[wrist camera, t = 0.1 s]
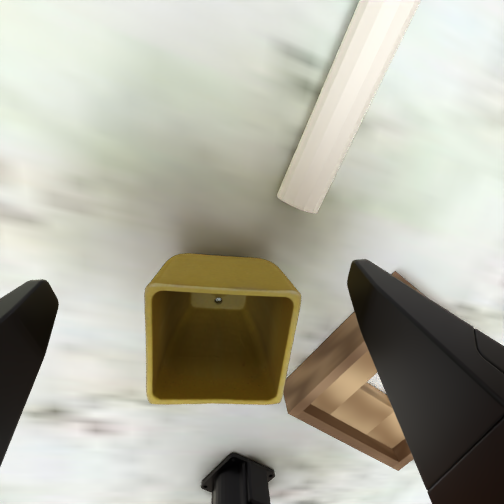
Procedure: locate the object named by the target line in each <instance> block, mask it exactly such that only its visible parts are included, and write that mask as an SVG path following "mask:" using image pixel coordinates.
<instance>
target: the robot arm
mask: <svg viewBox="0 0 504 504" xmlns="http://www.w3.org/2000/svg"><path fill="white" fill-rule="evenodd" d="M347 286H348V290H349V293H350V297H351V300H352V304H353V307H354V311H355V314H356V318H357V321H358V325H359V328H360V331H361V334H362V336H363V339H364V341H365V343H366V346H367V348H368V351H369V353H370V355H371V358H372V360H373V363H374V365H375V367H376V370H377V372H378V375H379V377H380V379H381V382H382V384H383V387H384V389H385V391H386V394H387V396H388V398H389V401H390V403H391V406H392V408H393V410H394V413H395V415H396V418H397V420H398V422H399V425H400V427H401V430H402V432H403V434H404V437H405V439H406V442H407V444H408V446H409V449H410V451H411V454H412V456H413V458H414V461H415V463H416V466H417V468H418V470H419V473H420V475H421V478H422V480H423V482H424V485H425V487H426V489H427V490H428V495H429V497H430V500H431V502H432V504H504V346H503V345H501V344H500V343H498V342H496V341H495V340H493V339H491V338H490V337H488V336H487V335H485V334H484V333H482V332H480V331H479V330H477V329H474V328H473V327H472V326H471V325H469V324H468V323H466V322H465V321H463V320H461V319H460V318H458V317H457V316H455V315H454V314H452V313H450V312H449V311H447V310H446V309H444V308H443V307H441V306H439V305H438V304H436V303H435V302H433V301H432V300H430V299H428V298H427V297H425V296H424V295H422V294H421V293H419V292H417V291H416V290H414V289H413V288H411V287H410V286H408V285H406V284H405V283H403V282H402V281H400V280H399V279H397V278H395V277H394V276H392V275H391V274H389V273H388V272H386V271H384V270H383V269H381V268H380V267H378V266H377V265H375V264H373V263H372V262H370V261H369V260H366V259H360V260H354V261H353V262H352V264H351V267H350V271H349V275H348V280H347ZM58 305H59V304H58V299H57V297H56V295H55V293H54V292H53V290H52V288H51V286H50V284H49V283H48V282H47V281H46V280H43V279H42V280H30V281H27V282H26V283H24V284H23V285H21V286H19V287H18V288H16V289H15V290H13V291H12V292H10V293H8V294H7V295H5V296H4V297H2V298H0V466H1V464H2V461H3V459H4V456H5V454H6V451H7V449H8V446H9V444H10V441H11V439H12V436H13V434H14V431H15V429H16V426H17V424H18V421H19V419H20V416H21V414H22V411H23V409H24V406H25V404H26V401H27V399H28V396H29V394H30V391H31V389H32V387H33V384H34V382H35V379H36V377H37V374H38V372H39V369H40V367H41V364H42V361H43V359H44V356H45V353H46V350H47V347H48V343H49V339H50V336H51V332H52V329H53V325H54V321H55V318H56V314H57V310H58ZM274 477H275V472H274V470H272V469H270V468H267V467H265V466H263V465H260V464H258V463H256V462H254V461H251V460H249V459H247V458H244V457H242V456H240V455H238V454H235V453H233V454H230V455H229V456H228V457H227V458H226V459H225V460H224V461H223V462H222V463H221V464H220V465H219V466H218V467H217V468H216V469H215V470H214V471H213V472H212V473H211V474H210V475H209V476H208V477H206V478H205V479H204V480H203V481H202V483H201V488H202V489H204V490H207V491H209V492H212V504H270V496H269V488H268V482H269V481H270V480H271V479H273V478H274Z"/></svg>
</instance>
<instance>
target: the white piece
mask: <svg viewBox="0 0 504 504" xmlns="http://www.w3.org/2000/svg"><path fill="white" fill-rule="evenodd" d="M420 2H421V0H360V1H359V3H358V5H357V8H356V10H355V13H354V15H353V17H352V20H351V22H350V24H349V27H348V29H347V31H346V34H345V36H344V38H343V41H342V43H341V45H340V48H339V50H338V53H337V55H336V57H335V60H334V62H333V64H332V67H331V69H330V71H329V74H328V76H327V78H326V81H325V83H324V86H323V88H322V90H321V93H320V95H319V97H318V100H317V102H316V104H315V107H314V109H313V111H312V114H311V116H310V118H309V121H308V123H307V126H306V128H305V130H304V133H303V135H302V137H301V140H300V142H299V144H298V147H297V149H296V151H295V154H294V156H293V158H292V161H291V163H290V166H289V168H288V170H287V173H286V175H285V177H284V180H283V182H282V184H281V187H280V189H279V191H278V194H277V197H278V198H279V199H281V200H282V201H283V202H285V203H287V204H289V205H291V206H293V207H295V208H298V209H300V210H302V211H306V212H309V213H317V212H318V210H319V208H320V206H321V204H322V202H323V200H324V198H325V196H326V194H327V192H328V190H329V188H330V186H331V183H332V181H333V179H334V177H335V175H336V173H337V171H338V169H339V167H340V165H341V163H342V161H343V159H344V157H345V155H346V153H347V151H348V149H349V147H350V145H351V143H352V141H353V139H354V136H355V134H356V132H357V130H358V128H359V126H360V124H361V122H362V120H363V118H364V116H365V114H366V112H367V110H368V108H369V106H370V104H371V102H372V100H373V98H374V96H375V94H376V92H377V89H378V87H379V85H380V83H381V81H382V79H383V77H384V75H385V73H386V71H387V69H388V67H389V65H390V63H391V61H392V59H393V57H394V55H395V53H396V51H397V49H398V47H399V45H400V42H401V40H402V38H403V36H404V34H405V32H406V30H407V28H408V26H409V24H410V22H411V20H412V18H413V16H414V14H415V12H416V10H417V8H418V6H419V4H420Z"/></svg>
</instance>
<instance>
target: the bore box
mask: <svg viewBox="0 0 504 504" xmlns="http://www.w3.org/2000/svg"><path fill="white" fill-rule="evenodd" d="M392 276H394V277H395V278H397V279H399V280H400V281H402V282H403V283H405V284H406V285H408V286H410V287H411V288H413V289H414V290H416V291H417V292H419V293H421V292H420V291H419V290H417V289H416V288H415V287H414V286H413V285H411V284H410V283H409V282H408V281H406V280H405V279H404V278H403V277H402V276H400V275H399V274H398V273H397V272H396V271H395V272H394V273H393V274H392ZM421 294H422V293H421ZM422 295H424V294H422ZM424 296H425V295H424ZM425 297H426V296H425ZM376 373H377V370H376V367H375V365H374V363H373V360H372V358H371V355H370V353H369V351H368V348H367V346H366V343H365V341H364V339H363V336H362V334H361V331H360V328H359V325H358V321H357V318H356V314H355V312H354V313H353V314H352V315H351V316H350V317H348V318H347V319H346V320H345V321H344V322H343V323H342V324H341V325H340V326H339V327H338V328H337V329H336V330H335V331H334V332H333V333H332V334H331V335H330V336H329V337H328V338H327V339H326V340H325V341H324V342H323V343H322V344H321V345H320V346H319V347H318V348H317V349H316V350H315V351H314V352H313V353H312V354H311V355H310V356H309V357H308V358H307V359H306V360H305V361H304V362H303V363H302V364H301V365H300V366H299V367H298V368H297V369H296V370H295V371H294V372H293V373H292V374H291V375H290V376H289V377H288V378H287V379H286V380H285V385H284V391H283V393H284V398H285V402H286V407H287V411H288V414H290V415H292V416H294V417H296V418H298V419H300V420H302V421H304V422H305V423H307V424H309V425H311V426H313V427H315V428H317V429H319V430H321V431H323V432H325V433H327V434H328V435H330V436H332V437H334V438H336V439H338V440H340V441H342V442H344V443H346V444H348V445H350V446H352V447H353V448H355V449H357V450H359V451H361V452H363V453H365V454H367V455H369V456H371V457H373V458H375V459H376V460H378V461H380V462H382V463H384V464H386V465H388V466H390V467H392V468H394V469H396V470H398V471H399V470H400V469H401V468H403V467H404V466H405V465H406V464H408V463H409V462H410V461H412V460H413V459H414V458H413V456H412V454H411V451H410V449H409V446H408V444H407V442H406V439H405V437H404V434H403V432H402V430H401V427H400V425H399V422H398V420H397V418H396V415H395V413H394V410H393V408H392V406H391V403H390V401H389V398H388V396H387V394H384V393H383V392H381V391H380V390H378V389H376V388H375V387H373V386H372V385H370V384H368V383H367V381H368V380H369V379H370V378H372V377H373V376H374V375H375V374H376Z"/></svg>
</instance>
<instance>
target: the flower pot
mask: <svg viewBox="0 0 504 504" xmlns="http://www.w3.org/2000/svg"><path fill="white" fill-rule="evenodd" d="M144 297H145V327H146V393H147V398H148V401H149V402H150V403H151V404H207V403H215V404H258V405H267V404H277V403H280V402H281V400H282V396H283V391H284V385H285V380H286V375H287V369H288V364H289V359H290V354H291V349H292V345H293V339H294V334H295V329H296V325H297V320H298V315H299V310H300V304H301V294H300V293H299V292H298V291H297V289H296V288H295V287H294V286H293V284H292V283H291V282H290V281H289V279H288V278H287V277H286V276H285V274H284V273H283V272H282V271H281V270H280V269H279V268H278V267H277V266H276V265H275V264H273V263H272V262H270V261H267V260H265V259H260V258H250V257H233V256H218V255H203V254H191V253H185V254H179V255H175V256H173V257H171V258H170V259H169V260H168V261H167V262H166V263H165V264H164V265H163V267H162V268H161V269H160V271H159V272H158V273H157V274H156V276H155V277H154V278H153V279H152V281H151V282H150V283H149V284H148V286H147V287H146V288H145V296H144ZM216 298H221V299H222V300H221V302H216V301H215V299H216Z"/></svg>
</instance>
